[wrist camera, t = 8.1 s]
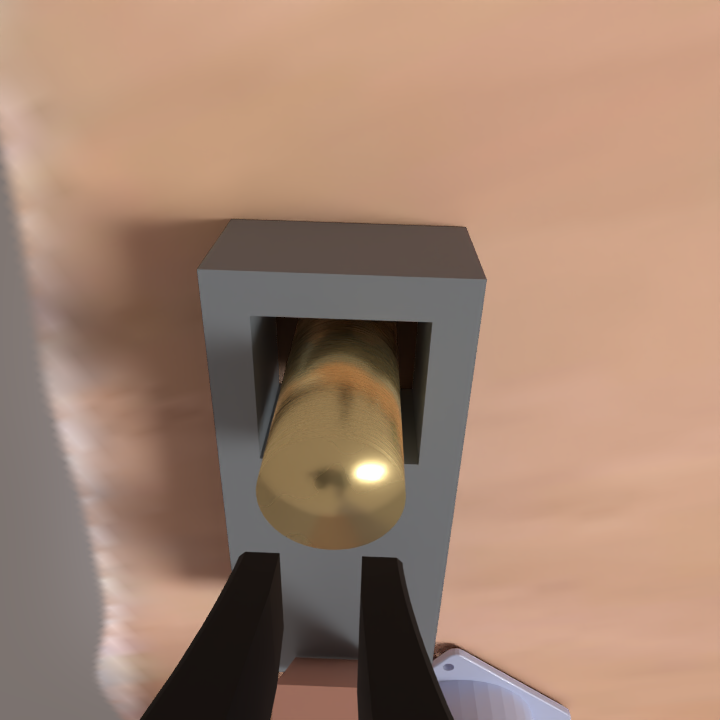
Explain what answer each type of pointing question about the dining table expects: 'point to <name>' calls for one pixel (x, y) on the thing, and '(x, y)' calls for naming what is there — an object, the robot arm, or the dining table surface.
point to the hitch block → (418, 405)
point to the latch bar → (317, 690)
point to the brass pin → (336, 437)
